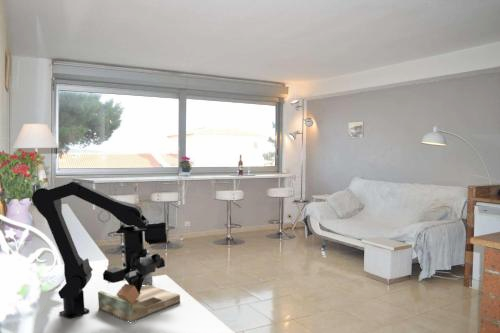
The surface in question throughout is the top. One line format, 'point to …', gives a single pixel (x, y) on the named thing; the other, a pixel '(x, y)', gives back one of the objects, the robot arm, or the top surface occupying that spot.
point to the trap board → (138, 303)
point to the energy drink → (149, 277)
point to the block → (128, 293)
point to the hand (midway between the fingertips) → (137, 295)
